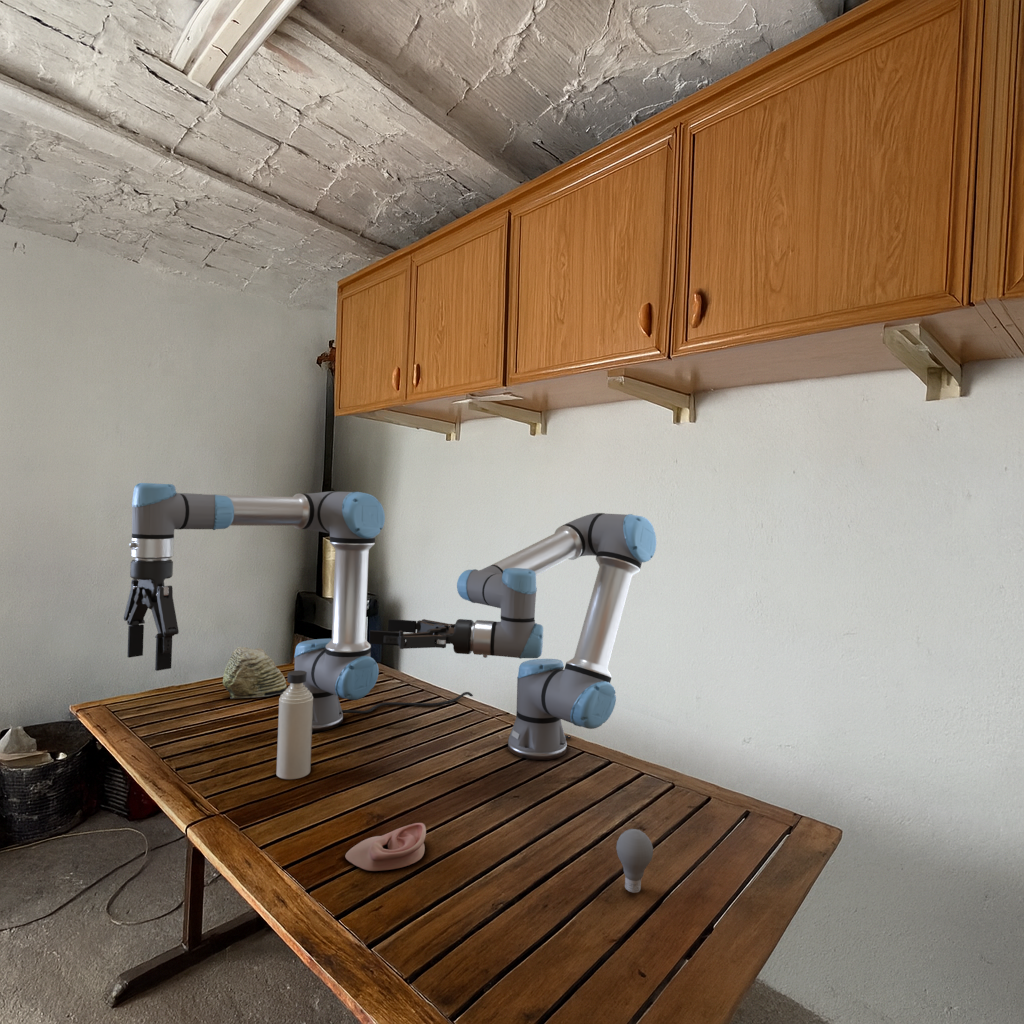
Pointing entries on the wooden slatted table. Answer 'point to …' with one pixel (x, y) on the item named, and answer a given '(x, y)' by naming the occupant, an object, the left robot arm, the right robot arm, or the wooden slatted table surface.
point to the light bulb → (634, 857)
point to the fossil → (252, 674)
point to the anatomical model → (390, 849)
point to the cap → (297, 677)
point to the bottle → (294, 732)
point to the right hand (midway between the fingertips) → (379, 630)
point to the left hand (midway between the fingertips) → (148, 662)
